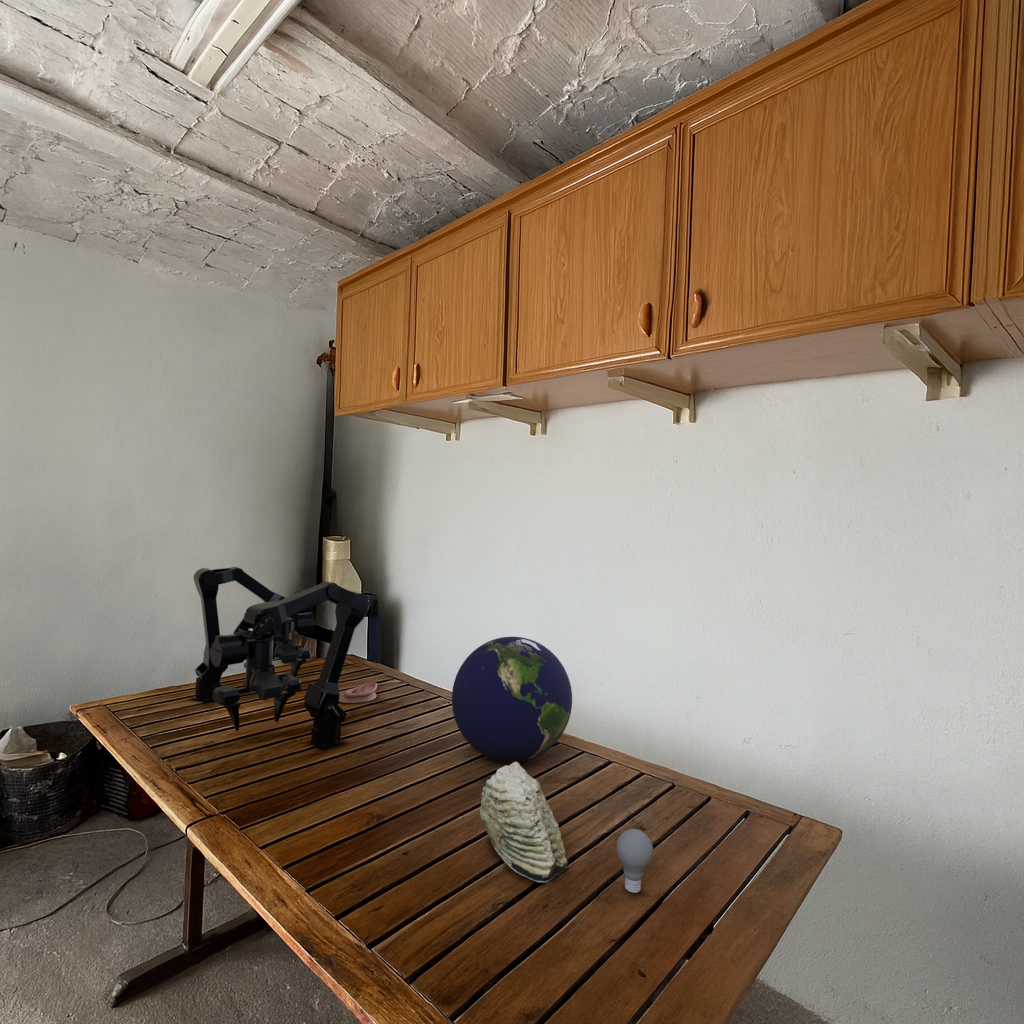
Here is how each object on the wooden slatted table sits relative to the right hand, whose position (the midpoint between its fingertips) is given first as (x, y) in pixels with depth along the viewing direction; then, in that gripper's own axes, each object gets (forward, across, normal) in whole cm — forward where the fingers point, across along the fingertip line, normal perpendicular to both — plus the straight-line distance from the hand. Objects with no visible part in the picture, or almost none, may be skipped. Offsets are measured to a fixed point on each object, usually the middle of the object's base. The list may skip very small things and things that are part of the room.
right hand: (257, 725), depth 148 cm
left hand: (+8, +29, +53) cm, 61 cm away
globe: (+9, +50, -34) cm, 61 cm away
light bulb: (+9, +28, -86) cm, 91 cm away
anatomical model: (+9, +43, +29) cm, 53 cm away
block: (+9, +29, +53) cm, 61 cm away
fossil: (+9, +21, -67) cm, 71 cm away
